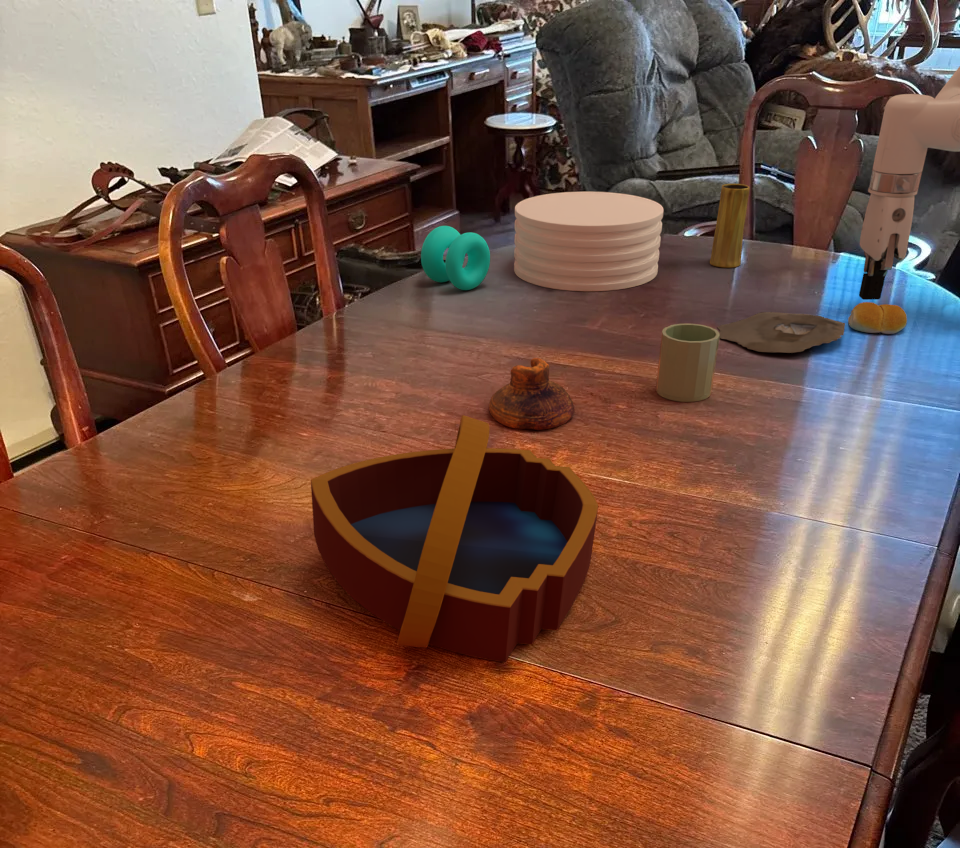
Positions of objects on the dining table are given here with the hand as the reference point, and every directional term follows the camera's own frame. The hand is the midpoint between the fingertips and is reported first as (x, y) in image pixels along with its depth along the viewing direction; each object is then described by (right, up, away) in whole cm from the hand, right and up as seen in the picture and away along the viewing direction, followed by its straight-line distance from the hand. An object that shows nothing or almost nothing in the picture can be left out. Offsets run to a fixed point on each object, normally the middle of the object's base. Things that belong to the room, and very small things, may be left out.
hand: (869, 297), depth 165 cm
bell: (-60, -28, -34) cm, 75 cm away
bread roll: (-2, -7, -6) cm, 10 cm away
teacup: (-38, -23, -28) cm, 53 cm away
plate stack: (-47, +13, +22) cm, 53 cm away
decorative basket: (-70, -52, -65) cm, 109 cm away
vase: (-19, +16, +25) cm, 35 cm away
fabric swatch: (-19, -9, -9) cm, 23 cm away
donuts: (-72, +8, +15) cm, 74 cm away
